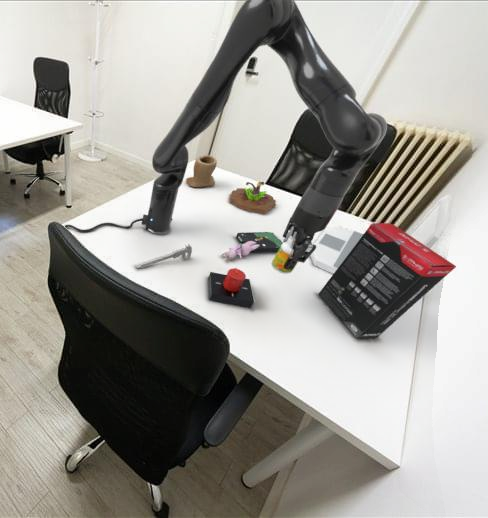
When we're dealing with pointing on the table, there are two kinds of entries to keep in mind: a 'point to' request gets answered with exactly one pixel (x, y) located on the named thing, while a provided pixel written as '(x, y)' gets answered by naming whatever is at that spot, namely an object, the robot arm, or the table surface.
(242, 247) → the pink creature figurine
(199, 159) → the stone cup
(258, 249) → the disk drive
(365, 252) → the graphics card box
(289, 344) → the table surface
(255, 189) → the plant
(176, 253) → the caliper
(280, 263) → the supplement bottle
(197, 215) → the table surface
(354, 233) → the laptop
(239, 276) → the knob
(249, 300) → the control panel
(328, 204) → the robot arm
